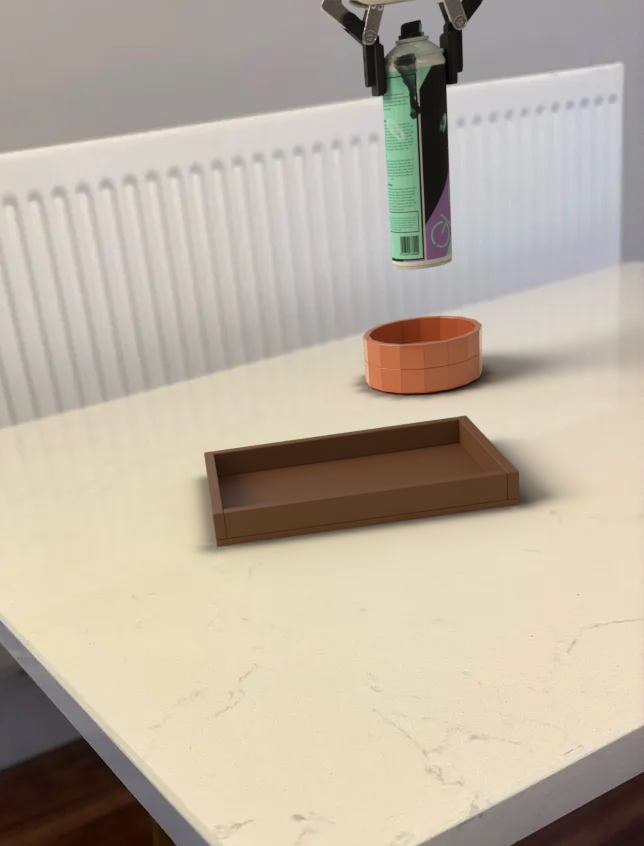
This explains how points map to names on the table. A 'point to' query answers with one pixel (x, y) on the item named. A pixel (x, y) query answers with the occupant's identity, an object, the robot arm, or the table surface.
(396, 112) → the spray can
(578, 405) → the table surface
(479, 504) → the tray
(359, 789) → the table surface
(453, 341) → the bowl
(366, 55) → the robot arm
